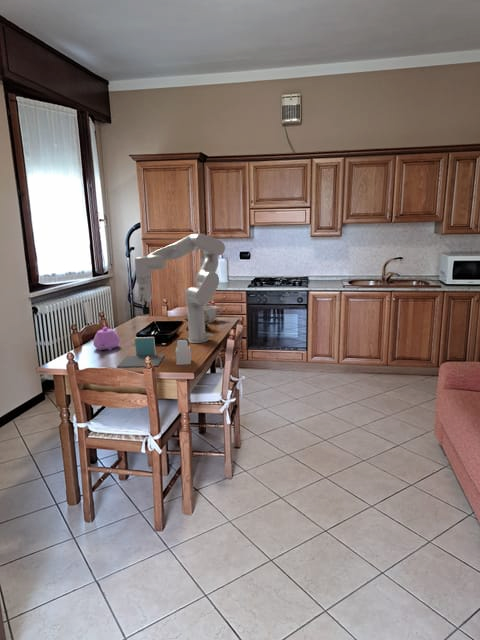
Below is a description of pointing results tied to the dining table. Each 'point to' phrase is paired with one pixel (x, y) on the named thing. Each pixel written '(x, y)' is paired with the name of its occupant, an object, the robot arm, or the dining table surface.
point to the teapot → (106, 339)
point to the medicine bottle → (183, 352)
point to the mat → (140, 361)
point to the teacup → (211, 312)
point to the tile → (145, 346)
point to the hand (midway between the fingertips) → (146, 314)
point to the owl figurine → (204, 320)
